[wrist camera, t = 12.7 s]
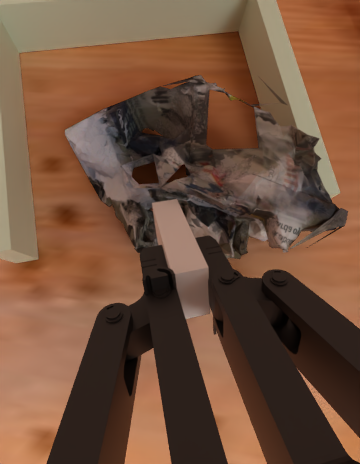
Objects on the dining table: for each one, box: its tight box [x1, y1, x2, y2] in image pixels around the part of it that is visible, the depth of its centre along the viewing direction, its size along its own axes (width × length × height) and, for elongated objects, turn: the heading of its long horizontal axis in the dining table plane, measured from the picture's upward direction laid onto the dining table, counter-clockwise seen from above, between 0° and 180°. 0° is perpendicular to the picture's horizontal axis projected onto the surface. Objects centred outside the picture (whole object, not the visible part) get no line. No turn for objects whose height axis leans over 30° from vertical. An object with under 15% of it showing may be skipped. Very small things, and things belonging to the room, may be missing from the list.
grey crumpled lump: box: [65, 75, 348, 259], centre depth 20 cm, size 12×11×15 cm
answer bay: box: [0, 0, 340, 263], centre depth 22 cm, size 19×22×4 cm
